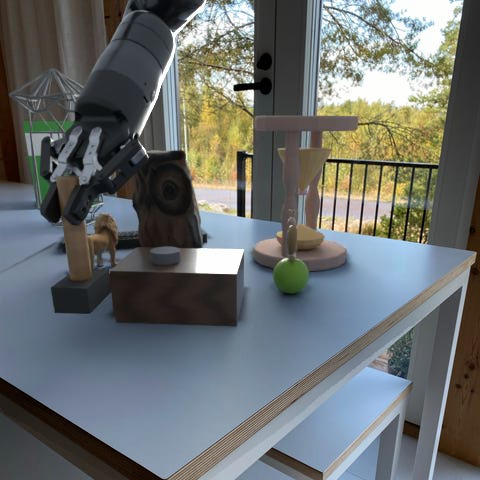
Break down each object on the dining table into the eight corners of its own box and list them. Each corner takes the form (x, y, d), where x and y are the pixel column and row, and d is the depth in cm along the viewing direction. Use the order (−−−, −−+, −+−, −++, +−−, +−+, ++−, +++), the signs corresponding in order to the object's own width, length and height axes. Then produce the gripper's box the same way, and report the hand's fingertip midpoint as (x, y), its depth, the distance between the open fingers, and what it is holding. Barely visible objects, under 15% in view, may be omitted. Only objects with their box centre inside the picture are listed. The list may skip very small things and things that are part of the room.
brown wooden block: (107, 321, 62) (101, 270, 59) (133, 291, 73) (129, 246, 70) (236, 326, 61) (236, 273, 58) (243, 294, 72) (243, 249, 69)
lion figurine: (100, 258, 90) (94, 210, 87) (127, 259, 90) (122, 211, 86) (62, 282, 77) (54, 227, 74) (93, 284, 76) (86, 228, 73)
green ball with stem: (305, 284, 76) (310, 209, 71) (309, 298, 70) (314, 217, 65) (271, 284, 76) (273, 209, 71) (272, 298, 70) (275, 217, 66)
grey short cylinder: (147, 264, 62) (146, 253, 61) (154, 256, 65) (153, 246, 65) (177, 265, 61) (176, 254, 61) (183, 257, 65) (182, 246, 64)
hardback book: (96, 202, 152) (87, 121, 143) (98, 205, 146) (89, 121, 136) (37, 205, 146) (24, 121, 137) (37, 209, 140) (22, 121, 131)
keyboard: (197, 231, 112) (197, 223, 111) (207, 242, 102) (207, 233, 101) (64, 240, 104) (63, 231, 103) (62, 252, 94) (61, 242, 94)
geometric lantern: (88, 231, 112) (66, 64, 98) (27, 229, 114) (-2, 65, 101) (115, 219, 126) (100, 71, 112) (61, 217, 129) (40, 72, 115)
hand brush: (54, 313, 52) (33, 180, 46) (79, 291, 58) (63, 172, 53) (90, 314, 51) (73, 181, 46) (111, 292, 58) (98, 173, 52)
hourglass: (317, 278, 79) (328, 115, 69) (234, 261, 89) (234, 116, 79) (361, 256, 92) (375, 116, 82) (284, 243, 102) (289, 116, 92)
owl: (203, 274, 81) (199, 150, 73) (128, 275, 81) (117, 150, 73) (205, 255, 93) (201, 146, 85) (140, 255, 92) (131, 146, 84)
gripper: (53, 68, 54) (-17, 192, 48) (158, 64, 49) (93, 202, 43) (90, 119, 60) (32, 233, 55) (185, 120, 55) (132, 246, 50)
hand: (59, 219), depth 49 cm, fingers closed on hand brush, 2 cm apart
